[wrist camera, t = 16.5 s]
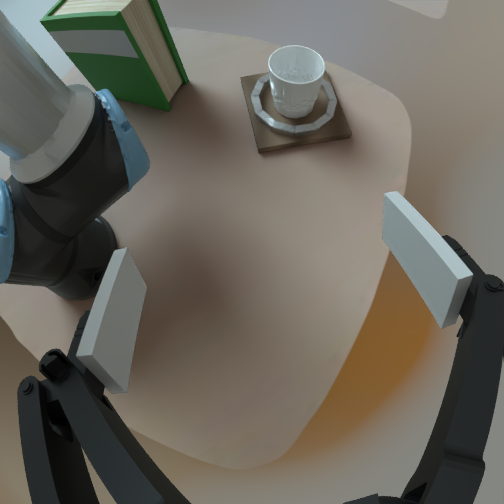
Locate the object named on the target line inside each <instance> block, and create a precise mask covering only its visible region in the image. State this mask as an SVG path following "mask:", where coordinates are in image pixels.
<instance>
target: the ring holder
mask: <svg viewBox="0 0 504 504" xmlns="http://www.w3.org/2000/svg"><path fill="white" fill-rule="evenodd" d="M240 78H241V83H242V87H243V91H244V95H245V99H246V103H247V107H248V111H249V115H250V119H251V123H252V127H253V131H254V135H255V139H256V143H257V147H258V152H259V153H262V152H267V151H272V150H277V149H283V148H288V147H294V146H300V145H306V144H312V143H318V142H325V141H331V140H338V139H345V138H350V135H351V131H350V129H349V126H348V123H347V121H346V118H345V116H344V113H343V111H342V108H341V106H340V103H339V101H338V98H337V96H336V93H335V91H334V89H333V86H332V84H331V82H330V79H329V77H328V75H327V73H326V70H325V72H324V76H323V80H322V83H321V87H320V90H319V94H318V97H317V100H316V101H315V105H314V107H313V110H312V112H311V113H309V114H308V115H307V116H305V117H301V118H297V119H296V118H288V117H285V116H284V115H282V114H280V113H279V112H278V111H277V110H276V109H275V107H274V103H273V96H272V92H271V85H270V76H269V72H268V73H262V74H256V75H251V76H245V77H240Z"/></svg>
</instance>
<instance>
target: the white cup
mask: <svg viewBox="0 0 504 504" xmlns="http://www.w3.org/2000/svg"><path fill="white" fill-rule="evenodd" d="M268 67H269V76H270V85H271V92H272V96H273V103H274V107H275V109H276V110H277V111H278V112H279V113H280V114H282V115H284V116H285V117H288V118H296V119H297V118H301V117H305V116H307V115H308V114H309V113H311V112H312V110H313V107H314V105H315V101H316V100H317V97H318V94H319V90H320V87H321V83H322V80H323V76H324V72H325V62H324V60H323V58H322V57H321V56H320V55H319V54H318V53H317V52H316V51H314V50H312V49H310V48H307V47H304V46H297V45H291V46H285V47H281V48H279V49H277V50H276V51H274V52H273V53H272V54H271V56H270V57H269V60H268Z"/></svg>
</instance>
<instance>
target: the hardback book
mask: <svg viewBox="0 0 504 504" xmlns="http://www.w3.org/2000/svg"><path fill="white" fill-rule="evenodd" d="M40 22H41V24H42V25H43V26H44V27H45V29H46V30H47V31H48V32H49V33H50V35H51V36H52V37H53V39H54V40H55V41H56V42H57V43H58V45H59V46H60V47H61V48H62V50H63V51H64V52H65V53H66V55H67V56H68V57H69V58H70V59H71V61H72V62H73V63H74V64H75V66H76V67H77V68H78V69H79V70H80V72H81V73H82V74H83V75H84V76H85V78H86V79H87V80H88V81H89V82H90V84H91V85H92V86H93V87H94V89H95V90H96V91H101V90H102V89H108V90H109V91H110V92H111V93H112V95H113V96H114V97H115V99H120V100H124V101H128V102H133V103H137V104H141V105H145V106H149V107H153V108H157V109H161V110H165V111H168V112H169V111H170V109H171V106H170V104H169V102H170V100H171V98H172V97H173V95H174V94H175V92H176V91H177V90H178V88H179V87H180V85H181V84H186V85H187V83H188V82H189V80H188V77H187V75H186V72H185V70H184V67H183V64H182V62H181V59H180V57H179V54H178V52H177V49H176V47H175V44H174V42H173V39H172V37H171V34H170V32H169V29H168V27H167V24H166V22H165V19H164V16H163V14H162V11H161V9H160V7H159V4H158V1H157V0H59V1H58V2H57V3H56V4H55V5H54V7H52V8H51V9H50V10H49V12H48V13H47V14H46V15H45V16H44V17H43V18H42V19H41V21H40Z"/></svg>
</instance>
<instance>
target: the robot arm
mask: <svg viewBox="0 0 504 504" xmlns="http://www.w3.org/2000/svg"><path fill="white" fill-rule="evenodd" d="M0 150H1V151H2V152H4V153H5V154H7V155H8V156H9V157H10V170H11V173H12V175H11V176H10V177H9V179H8V180H7V181H4V180H3V179H1V178H0V284H2V283H8V284H20V285H32V286H45V287H47V288H48V289H50V290H51V291H53V292H54V293H56V294H57V295H59V296H61V297H63V298H66V299H70V300H85V299H88V298H91V297H93V296H95V295H96V294H97V295H96V298H95V300H94V303H93V306H92V309H91V310H88V311H86V312H85V313H84V314H83V316H82V317H81V318H80V320H79V323H78V325H77V328H76V329H77V330H76V331H75V334H74V337H73V340H72V343H71V346H70V349H69V352H68V355H67V357H66V355H65V354H64V353H63V352H62V351H61V350H60V349H52V350H50V351H48V352H47V353H46V354H45V355H44V356H43V357H42V359H41V361H40V364H39V371H40V372H41V373H42V374H43V375H44V376H45V377H46V378H47V379H46V380H43V381H39V380H38V379H37V378H35V377H34V376H28V377H26V378H25V379H23V380H22V382H21V383H20V385H19V387H18V392H17V394H18V396H17V397H18V414H19V425H20V436H21V445H22V453H23V459H24V466H25V471H26V477H27V482H28V487H29V492H30V496H31V500H32V504H99V501H98V498H97V496H96V493H95V490H94V487H93V484H92V481H91V478H90V475H89V472H88V469H87V466H86V462H85V459H84V455H83V452H82V448H83V450H84V452H85V454H86V455H87V457H88V459H89V461H90V462H91V464H92V465H93V467H94V469H95V471H96V472H97V474H98V476H99V477H100V479H101V480H102V482H103V483H104V485H105V487H106V488H107V490H108V491H109V493H110V494H111V495H112V497H113V498H114V500H115V501H116V503H117V504H191V503H190V502H189V501H188V500H187V499H186V498H185V497H184V496H183V495H182V494H181V493H180V492H179V490H178V489H177V488H176V487H175V486H174V485H173V484H172V483H171V482H170V480H169V479H168V478H167V477H166V476H165V475H164V474H163V472H162V471H161V470H160V469H159V468H158V467H157V465H156V464H155V463H154V462H153V460H152V459H151V458H150V457H149V455H148V454H147V453H146V452H145V450H144V449H143V448H142V446H141V445H140V444H139V443H138V441H137V440H136V439H135V437H134V436H133V435H132V433H131V432H130V430H129V429H128V428H127V426H126V425H125V423H124V422H123V421H122V419H121V418H120V416H119V415H118V413H117V412H116V410H115V409H114V407H113V406H112V404H111V403H110V401H109V400H108V398H107V397H106V396H105V395H104V394H103V393H104V388H105V387H106V388H107V389H108V390H109V391H110V392H111V393H112V394H113V393H127V389H128V382H129V376H130V370H131V364H132V358H133V353H134V347H135V342H136V337H137V332H138V327H139V322H140V317H141V312H142V308H143V303H144V299H145V294H146V290H147V286H146V284H145V282H144V280H143V278H142V276H141V274H140V272H139V270H138V268H137V266H136V264H135V262H134V260H133V258H132V256H131V254H130V252H129V250H128V248H127V247H126V248H122V249H118V250H117V248H116V240H115V236H114V233H113V231H112V228H111V227H110V225H109V223H108V222H107V221H106V220H105V219H104V218H103V217H102V216H100V215H101V214H102V213H103V212H104V211H105V210H106V209H108V208H109V207H110V206H111V205H112V204H114V203H115V202H116V201H117V200H118V199H120V198H121V197H122V196H123V195H125V194H126V193H127V192H129V191H130V190H131V189H132V187H133V186H134V185H135V184H136V183H137V182H138V181H139V180H140V179H141V178H143V177H144V176H145V175H146V173H147V172H148V170H149V168H150V160H149V157H148V154H147V152H146V150H145V148H144V146H143V144H142V143H141V141H140V139H139V137H138V135H137V134H136V132H135V130H134V129H133V127H132V126H131V125H130V122H129V121H128V119H127V117H126V115H125V113H124V112H123V110H122V108H121V107H120V105H119V104H118V102H117V100H116V99H115V97H114V96H113V95H112V93H111V92H110V91H109V90H108V89H102V90H101V91H97V92H96V93H95V94H94V93H93V92H92V91H91V90H90V89H89V88H88V87H86V86H84V85H80V84H75V85H69V86H66V85H65V84H64V83H63V82H62V81H61V80H60V79H59V77H58V76H57V75H56V74H55V73H54V72H53V71H52V69H51V68H50V67H49V66H48V65H47V64H46V63H45V62H44V60H43V59H42V58H41V57H40V56H39V55H38V54H37V52H36V51H35V50H34V49H33V48H32V47H31V46H30V44H29V43H28V42H27V41H26V40H25V39H24V38H23V36H22V35H21V34H20V33H19V32H18V31H17V29H16V28H15V27H14V26H13V25H12V24H11V22H10V21H9V20H8V19H7V18H6V16H5V15H4V14H3V13H2V12H1V11H0ZM382 239H383V240H384V242H385V243H386V244H387V246H388V247H389V249H390V250H391V252H392V253H393V254H394V256H395V257H396V259H397V260H398V262H399V263H400V264H401V266H402V268H403V269H404V270H405V272H406V273H407V275H408V276H409V278H410V280H411V281H412V283H413V284H414V285H415V287H416V289H417V290H418V292H419V293H420V295H421V297H422V298H423V300H424V301H425V303H426V304H427V306H428V308H429V309H430V311H431V312H432V314H433V316H434V317H435V319H436V321H437V323H438V324H439V326H440V328H441V329H442V328H445V327H447V326H450V325H453V324H455V323H456V320H457V318H458V316H459V314H460V315H461V317H462V319H463V323H462V325H461V327H460V329H459V332H458V334H457V337H459V339H458V344H457V349H456V353H455V358H454V362H453V366H452V370H451V374H450V377H449V381H448V385H447V388H446V392H445V395H444V398H443V401H442V405H441V408H440V411H439V414H438V417H437V420H436V423H435V426H434V428H433V431H432V434H431V436H430V439H429V442H428V444H427V447H426V449H425V452H424V454H423V456H422V459H421V461H420V463H419V466H418V468H417V470H416V472H415V473H414V475H413V476H412V477H411V479H410V481H409V482H408V484H407V486H406V488H405V490H404V492H403V494H402V496H401V498H398V497H391V496H378V494H374V495H370V496H367V497H364V498H360V499H357V500H353V501H349V502H345V503H343V504H473V502H474V499H475V497H476V494H477V492H478V489H479V486H480V483H481V481H482V478H483V475H484V471H485V462H484V461H483V452H484V449H485V445H486V442H487V438H488V434H489V431H490V427H491V422H492V417H493V413H494V409H495V403H496V399H497V393H498V387H499V380H500V374H501V367H502V359H503V358H504V283H503V281H502V280H501V279H499V278H498V277H496V276H494V275H489V274H487V275H486V274H485V273H484V272H483V271H482V269H481V268H480V267H479V266H478V265H477V264H476V262H475V261H474V260H473V259H472V258H471V257H470V256H469V255H468V253H467V252H466V251H465V250H464V249H463V248H462V246H461V245H460V244H459V243H458V242H457V241H456V240H454V239H453V238H451V237H449V236H448V235H445V236H440V235H439V234H438V233H437V232H436V231H435V230H434V228H433V227H432V226H431V225H430V224H429V223H428V222H427V221H426V220H425V219H424V218H423V217H422V216H421V215H420V214H419V213H418V212H417V210H416V209H415V208H413V206H412V205H411V204H410V203H409V202H408V201H406V199H404V197H403V196H402V195H400V194H399V193H398V192H397V191H394V192H388V193H384V209H383V230H382ZM502 357H503V358H502ZM81 446H82V448H81Z"/></svg>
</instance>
